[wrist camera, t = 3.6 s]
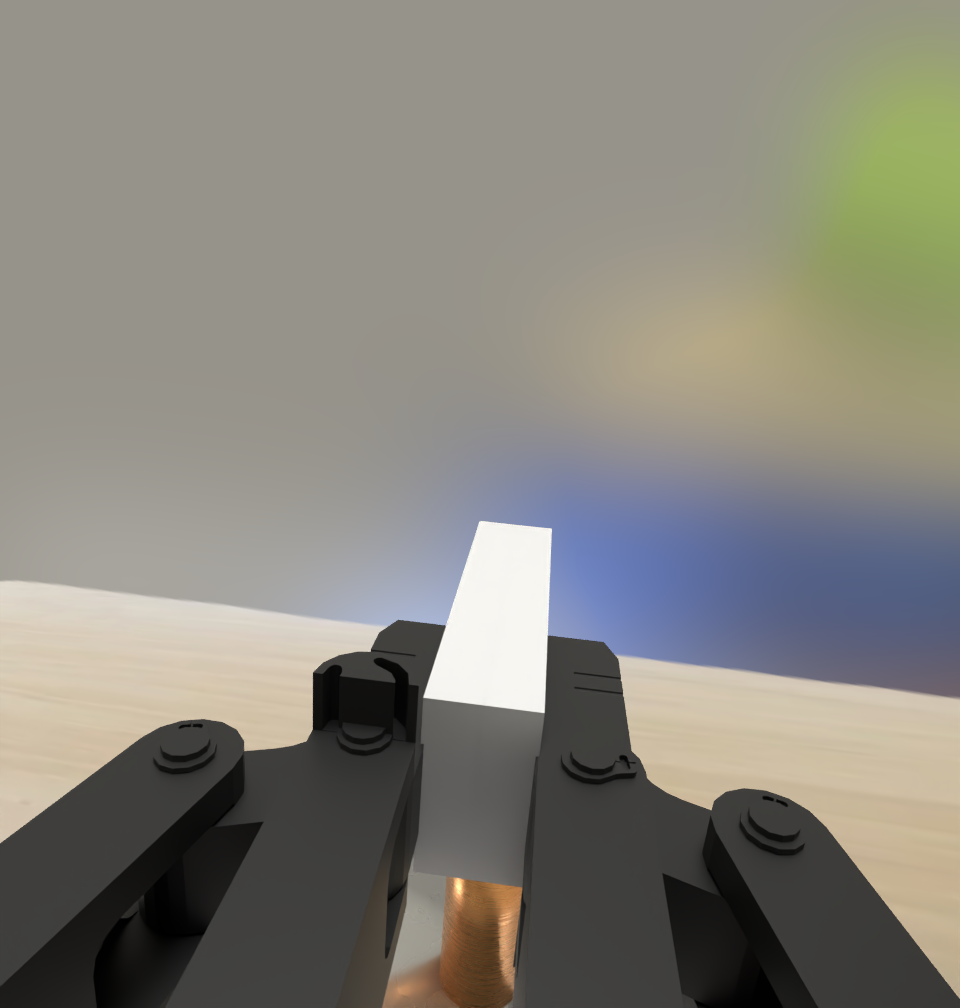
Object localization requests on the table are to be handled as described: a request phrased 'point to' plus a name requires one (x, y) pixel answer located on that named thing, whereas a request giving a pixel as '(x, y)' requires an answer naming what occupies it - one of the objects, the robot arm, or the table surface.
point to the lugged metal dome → (455, 944)
